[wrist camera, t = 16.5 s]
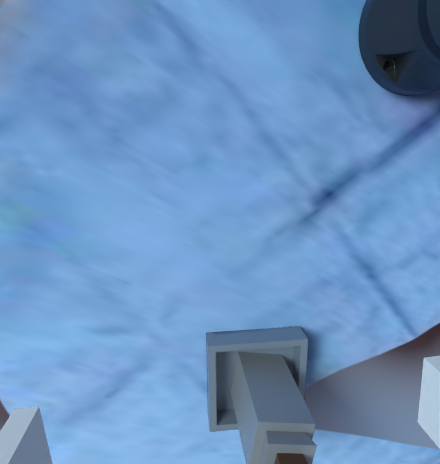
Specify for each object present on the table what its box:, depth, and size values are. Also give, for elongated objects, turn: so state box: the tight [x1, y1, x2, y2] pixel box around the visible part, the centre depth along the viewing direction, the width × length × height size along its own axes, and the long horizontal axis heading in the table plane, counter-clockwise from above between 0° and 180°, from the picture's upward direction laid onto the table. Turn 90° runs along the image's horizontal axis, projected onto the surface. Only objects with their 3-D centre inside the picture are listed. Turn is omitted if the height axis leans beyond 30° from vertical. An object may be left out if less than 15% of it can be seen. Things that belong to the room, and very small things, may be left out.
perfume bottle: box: [231, 352, 317, 464], centre depth 44 cm, size 7×7×18 cm
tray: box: [206, 326, 308, 432], centre depth 52 cm, size 14×14×4 cm
